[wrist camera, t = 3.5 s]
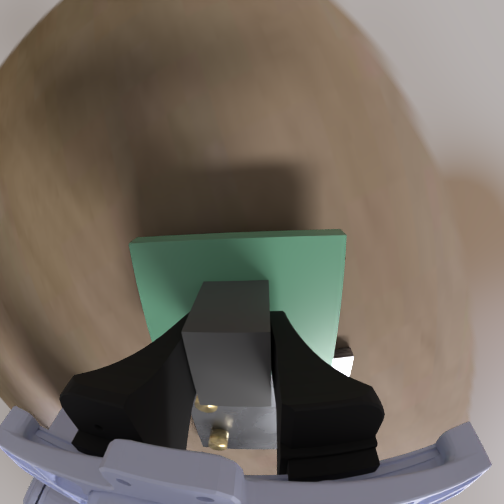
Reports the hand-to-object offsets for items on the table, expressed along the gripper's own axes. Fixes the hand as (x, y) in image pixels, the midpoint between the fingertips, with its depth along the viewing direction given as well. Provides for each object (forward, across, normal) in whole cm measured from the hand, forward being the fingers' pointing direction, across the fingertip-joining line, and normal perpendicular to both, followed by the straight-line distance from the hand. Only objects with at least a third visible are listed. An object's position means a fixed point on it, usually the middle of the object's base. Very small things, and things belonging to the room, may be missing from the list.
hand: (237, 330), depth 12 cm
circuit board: (+2, 0, 0) cm, 2 cm away
